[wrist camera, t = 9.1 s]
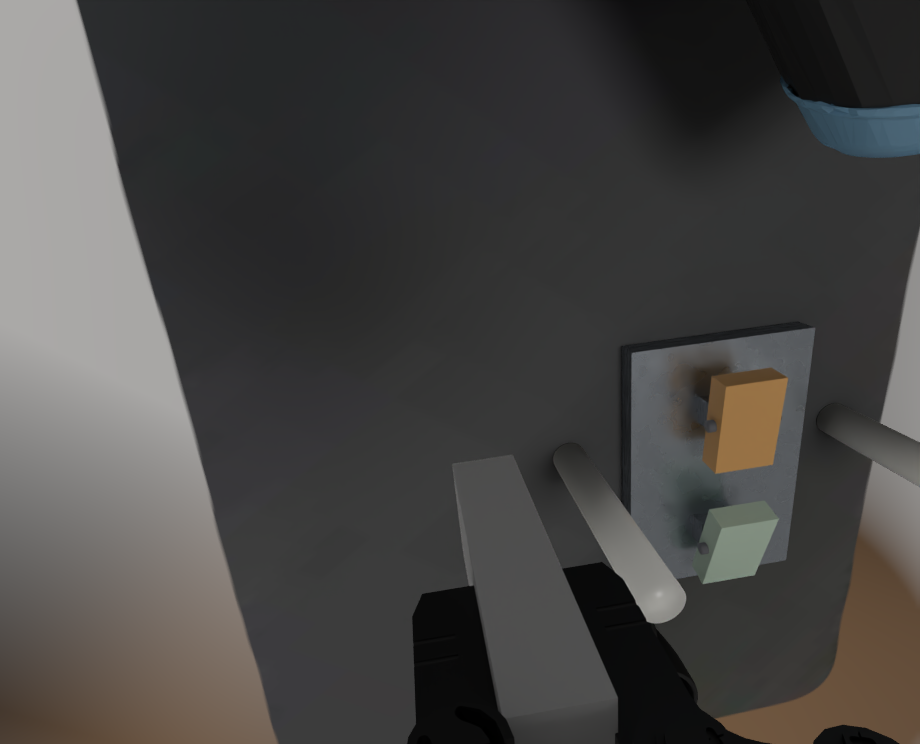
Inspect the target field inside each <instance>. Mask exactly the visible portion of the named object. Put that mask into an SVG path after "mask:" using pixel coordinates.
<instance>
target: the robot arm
mask: <svg viewBox="0 0 920 744" xmlns="http://www.w3.org/2000/svg"><path fill="white" fill-rule="evenodd" d="M746 1H747V3H748V5H749V7H750V10H751V12H752V14H753V16H754V18H755V20H756V22H757V25H758V27H759V29H760V31H761V33H762V35H763V37H764V40H765V42H766V44H767V46H768V48H769V50H770V52H771V55H772V57H773V59H774V61H775V63H776V65H777V67H778V70H779V72H780V74H781V79H780V83H781V85H782V87H783V90H784V92H785V93H786V94H787V96H788V97H789V98H790V99H792V100H793V101H794V102H796V104H797V105H798V107H799V109H800V111H801V113H802V115H803V116H804V118H805V120H806V122H807V124H808V126H809V128H810V129H811V131H812V133H813V134H814V136H815V137H816V138H817V139H818V140H819V141H820V142H821V143H822V144H824V145H825V146H828V147H831V148H834V149H836V150H837V151H840V152H842V153H843V154H847V155H851V156H858V157H870V158H886V157H901V156H909V155H916V154H920V0H746ZM452 467H453V475H454V483H455V491H456V499H457V507H458V515H459V523H460V530H461V538H462V546H463V554H464V560H465V566H466V571H467V577H468V582H469V586H467V587H461V588H455V589H449V590H443V591H437V592H431V593H425V594H422V596H421V598H420V601H419V603H418V605H417V607H416V610H415V612H414V614H413V616H412V620H413V643H414V646H413V648H414V676H415V704H416V725H415V727H414V728H413V730H412V732H411V734H410V735H409V737H408V743H407V744H770V743H763V742H759V741H754V740H750V739H746V738H743V737H741V736H739V735H736V734H734V733H732V732H730V731H728V730H726V729H725V727H724V726H723V725H722V724H721V723H720V722H718V721H717V720H716V719H714V718H713V717H711V716H710V715H708V714H707V713H705V712H704V711H702V710H701V709H700V708H699V707H698V705H697V704H696V703H695V701H694V700H693V698H692V697H691V696H690V694H689V692H688V690H687V689H686V687H685V685H684V683H683V682H682V680H681V678H680V677H679V675H678V673H677V671H676V670H675V668H674V666H673V664H672V663H671V661H670V659H669V658H668V656H667V654H666V652H665V651H664V649H663V647H662V645H661V644H660V642H659V640H658V638H657V637H656V635H655V633H654V632H653V630H652V628H651V626H650V625H649V624H647V621H646V618H645V616H644V614H643V613H642V611H641V609H640V607H639V606H638V605H637V604H636V600H635V599H634V597H633V595H632V593H631V592H630V590H629V588H628V587H627V585H626V583H625V581H624V580H623V578H621V577H620V576H619V575H618V574H616V573H615V572H614V571H613V570H611V569H610V568H609V567H608V566H606V565H605V564H604V563H603V562H600V563H594V564H588V565H582V566H576V567H570V568H564V569H562V568H561V565H560V563H559V561H558V558H557V556H556V554H555V551H554V549H553V547H552V544H551V542H550V540H549V538H548V535H547V533H546V531H545V528H544V526H543V524H542V521H541V519H540V517H539V514H538V512H537V510H536V508H535V505H534V503H533V501H532V498H531V496H530V494H529V491H528V489H527V487H526V484H525V482H524V480H523V477H522V475H521V473H520V471H519V468H518V466H517V464H516V461H515V459H514V457H513V455H508V456H501V457H495V458H488V459H481V460H475V461H468V462H461V463H455V464H452ZM813 744H899V743H897V742H896V741H894V740H893V739H891V738H889V737H887V736H884V735H882V734H879V733H877V732H874V731H872V730H869V729H867V728H862V727H854V726H847V725H840V726H836V727H832V728H828V729H824V731H823V732H822V733H821V734H820V735H819V736H818V737H817V738H816V739H815V740H814V742H813Z"/></svg>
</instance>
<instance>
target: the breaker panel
mask: <svg viewBox="0 0 920 744" xmlns="http://www.w3.org/2000/svg"><path fill="white" fill-rule="evenodd" d="M814 334H815V327H813V326H810V325H807V324H804V323H801V322H793V323H786V324H779V325H771V326H764V327H757V328H750V329H742V330H735V331H728V332H721V333H714V334H706V335H699V336H692V337H685V338H677V339H670V340H663V341H656V342H648V343H641V344H634V345H627V346H622V504H623V506H624V507H625V508H626V510H627V511H628V513H629V514H630V515H631V517H632V518H633V520H634V521H635V522H636V524H637V525H638V527H639V528H640V529H641V531H642V532H643V534H644V535H645V537H646V538H647V539H648V541H649V542H650V544H651V545H652V546H653V548H654V549H655V551H656V552H657V553H658V555H659V556H660V558H661V559H662V560H663V562H664V563H665V565H666V566H667V567H668V569H669V570H670V572H671V573H672V574H673V576H674V577H675V579H678V578H684V577H690V576H696V575H697V573H696V571H695V570H694V568H693V566H692V563H693V560H694V557H695V553H696V550H697V544H698V543H699V541H700V537H701V534H702V531H703V528H704V524H705V521H706V518H707V515H708V512H709V509H715V508H721V507H727V506H733V505H739V504H745V503H752V502H758V501H764V500H765V502H766V503H767V504H768V505H769V507H770V508H771V509H772V511H773V512H774V513H775V514H776V516H777V517H778V518H779V520H778V522H777V525H776V527H775V529H774V532H773V534H772V536H771V538H770V541H769V543H768V545H767V548H766V550H765V552H764V554H763V557H762V559H761V561H760V564H766V563H772V562H778V561H783V560H786V556H787V548H788V540H789V532H790V524H791V516H792V508H793V501H794V493H795V485H796V477H797V469H798V461H799V453H800V445H801V437H802V429H803V421H804V414H805V406H806V398H807V390H808V382H809V374H810V366H811V358H812V350H813V342H814ZM764 368H773V369H775V370H776V371H778V372H780V373H781V374H783V375H785V376H786V377H788V382H787V388H786V393H785V399H784V405H783V410H782V420H781V422H780V427H779V433H778V439H777V444H776V450H775V455H774V461H773V465H768V466H762V467H755V468H749V469H743V470H736V471H730V472H724V473H717V474H715V473H714V472H713V471H712V470H711V469H710V468H709V467H708V466H707V465H706V464H705V463H704V462H703V461H702V458H703V449H704V440H705V431H706V430H705V427H704V422H705V421H707V413H708V404H709V395H710V386H711V377H712V376H716V375H723V374H729V373H736V372H743V371H750V370H757V369H764ZM760 564H759V565H760Z"/></svg>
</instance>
